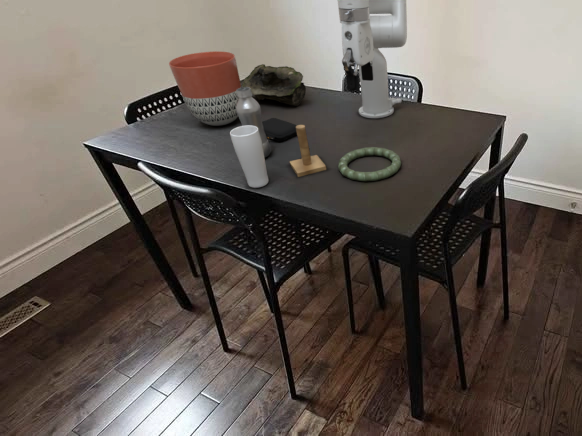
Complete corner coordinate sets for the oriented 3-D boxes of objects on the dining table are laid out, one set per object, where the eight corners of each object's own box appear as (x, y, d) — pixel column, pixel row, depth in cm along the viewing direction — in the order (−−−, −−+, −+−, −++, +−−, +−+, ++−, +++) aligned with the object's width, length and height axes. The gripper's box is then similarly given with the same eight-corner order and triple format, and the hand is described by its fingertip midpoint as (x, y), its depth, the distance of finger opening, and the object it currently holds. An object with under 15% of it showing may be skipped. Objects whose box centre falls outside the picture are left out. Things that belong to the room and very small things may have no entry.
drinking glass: (248, 178, 112) (233, 125, 104) (274, 176, 113) (261, 124, 104) (242, 191, 107) (225, 137, 98) (269, 189, 107) (255, 135, 99)
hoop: (384, 148, 126) (384, 141, 124) (411, 172, 113) (411, 164, 112) (330, 162, 119) (329, 154, 118) (353, 189, 107) (352, 181, 105)
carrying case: (248, 134, 136) (277, 145, 129) (246, 125, 134) (275, 136, 127) (275, 123, 143) (304, 133, 136) (273, 115, 141) (302, 124, 134)
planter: (178, 129, 141) (154, 64, 128) (220, 109, 155) (202, 49, 143) (223, 137, 135) (202, 70, 122) (262, 116, 149) (247, 53, 137)
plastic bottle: (276, 153, 125) (261, 86, 113) (263, 163, 119) (245, 94, 108) (258, 150, 126) (241, 84, 115) (244, 160, 121) (224, 92, 110)
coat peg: (317, 158, 121) (310, 118, 114) (326, 169, 115) (319, 128, 108) (290, 165, 118) (281, 124, 111) (298, 177, 112) (289, 135, 105)
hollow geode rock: (309, 120, 158) (325, 84, 158) (286, 105, 146) (303, 66, 147) (260, 104, 170) (275, 71, 171) (236, 89, 159) (252, 53, 160)
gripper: (354, 21, 95) (361, 95, 105) (380, 11, 109) (384, 77, 119) (324, 20, 97) (334, 93, 107) (354, 10, 111) (360, 76, 121)
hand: (361, 85), depth 113 cm, fingers open, 9 cm apart
